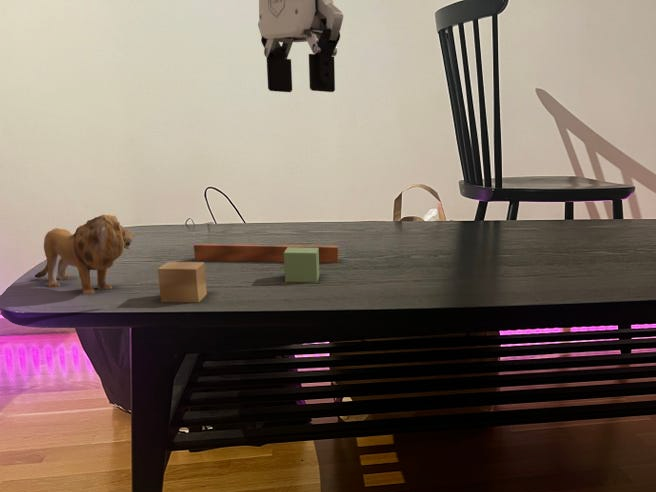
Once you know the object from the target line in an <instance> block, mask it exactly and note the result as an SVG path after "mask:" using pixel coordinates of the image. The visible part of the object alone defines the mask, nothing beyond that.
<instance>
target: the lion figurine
mask: <svg viewBox="0 0 656 492" xmlns="http://www.w3.org/2000/svg"><path fill="white" fill-rule="evenodd" d="M134 236H135V234H134V233H133V232H131V231H129V230H127V229H126V228H125V227H124V226H123V225H121V223H120V221H118V217H117V216H116V215H111V214H101V215H99V216H95V217H94V218H92V219H89V220H87V221H86V223H84V224H81V225H79V226H78V227H77V228H76V229H75V232H74V233H71V232H70V230H67V229H64V228H56V227H55V228H53V229H51V230H49V231H48V232H47V233H46V234H45V236H44V241H43V251H44V255H45V258H46V264H45V266H44V268H43V269H42V270H40V271H39V272H37V273H36V274H34V278H37V279H41V278H43V277H46V275H47V277H48V287H49V288H56V287H57V288H58V287H60V286H61V284H60V283H59V282H58V280H60V281H66V280H67V281H68V280H70V279H71V277H70V276H69V275H68V274H67V273H66V270H67V268H68V266H71V267H75V268H77V272H78V276H79V279H80V283H81V288H82V294H83V295H92V294H95V293H96V291H95V289H94V287H93V285H92V283H91V271H96V275H97V276H96V277H97V279H96V282H97V288H98V289H99V290H110V289H113V287H112V285H109V284H107V283H106V278H107V273H108V269H110V268H112V267H113V265H114V261H115V262H116V260H117V259H119V258H120V257H121V256H122V255H123V254H124V251H125V250H130V249H131V243H133V241H134ZM58 256H59V257H60V259H59V260H58ZM57 260H58V263H57ZM56 265H57V273H56ZM56 275H57V277H58V280H57V277H56Z"/></svg>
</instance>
